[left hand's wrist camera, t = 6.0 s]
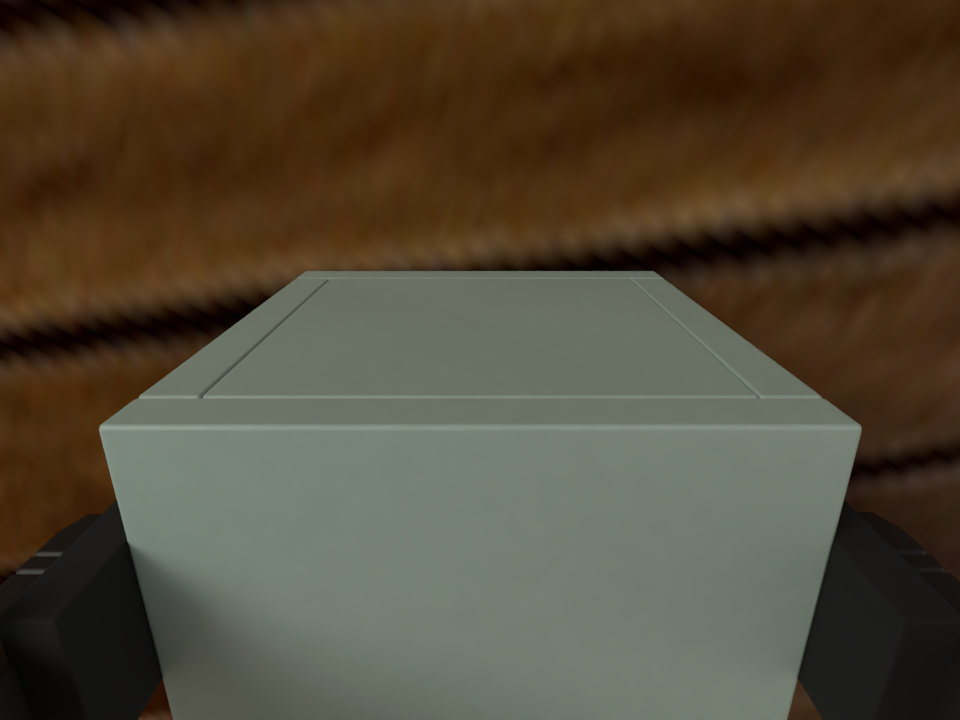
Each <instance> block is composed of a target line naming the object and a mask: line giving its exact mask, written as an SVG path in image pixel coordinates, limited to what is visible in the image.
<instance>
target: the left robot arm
mask: <svg viewBox="0 0 960 720" xmlns="http://www.w3.org/2000/svg"><path fill="white" fill-rule="evenodd" d="M162 678H163V677H162V673H161V669H160V666H159V662H158V658H157V654H156V650H155V646H154V642H153V638H152V634H151V630H150V627H149V623H148V619H147V615H146V611H145V607H144V603H143V599H142V595H141V592H140V588H139V584H138V580H137V576H136V572H135V568H134V564H133V560H132V556H131V553H130V549H129V545H128V541H127V537H126V533H125V529H124V525H123V521H122V517H121V514H120V510H119V506H118V502H117V500H116V501H115V502H114V503H113V504H112V505H111V506H110V507H109V508H108V509H107V510H106V511H105V512H104V513H103V514H88V515H87V516H85V517H83V518H81V519H80V520H78V521H76V522H75V523H73V524H71V525H69V526H68V527H66V528H64V529H63V530H61V531H59V532H58V533H57V534H56V535H55V536H53V537H52V538H51V539H50V540H49V541H48V542H47V543H46V544H45V545H44V546H43V547H42V548H40V549H39V550H38V551H37V552H36V556H35V557H31V558H30V559H29V560H27V561H26V562H25V563H24V564H23V565H22V566H21V567H20V568H19V569H18V570H17V573H16V575H11V576H10V577H9V578H8V579H7V580H6V581H5V582H4V583H3V584H2V585H0V720H138V718H139V717H140V715H141V713H142V712H143V710H144V708H145V706H146V705H147V703H148V701H149V700H150V698H151V696H152V695H153V693H154V691H155V690H156V688H157V686H158V685H159V683H160V681H161V679H162ZM798 678H799V680H800V682H801V684H802V685H803V687H804V689H805V690H806V692H807V694H808V695H809V697H810V699H811V700H812V702H813V704H814V705H815V707H816V709H817V711H818V712H819V714H820V716H821V717H822V719H823V720H960V582H959V581H958V580H957V579H956V578H955V577H954V576H952V575H951V574H950V573H946V572H945V568H944V567H943V566H942V565H940V564H939V563H938V562H937V561H936V560H935V559H934V558H933V557H932V556H931V555H926V551H925V550H924V549H923V548H922V547H921V546H920V545H919V544H918V543H917V542H915V541H914V540H913V539H912V538H911V537H910V536H909V535H908V534H907V533H906V532H905V531H903V530H902V529H900V528H899V527H897V526H895V525H893V524H892V523H890V522H888V521H886V520H885V519H883V518H881V517H880V516H878V515H876V514H874V513H873V512H856V511H855V510H854V509H853V508H852V507H851V506H850V505H849V504H848V503H847V502H846V501H845V500H844V501H843V505H842V509H841V513H840V517H839V521H838V525H837V529H836V532H835V536H834V540H833V544H832V548H831V552H830V556H829V560H828V563H827V567H826V571H825V575H824V579H823V583H822V587H821V591H820V594H819V598H818V602H817V606H816V610H815V614H814V618H813V622H812V625H811V629H810V633H809V637H808V641H807V645H806V649H805V653H804V656H803V660H802V664H801V668H800V672H799V676H798Z"/></svg>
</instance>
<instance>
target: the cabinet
mask: <svg viewBox="0 0 960 720" xmlns="http://www.w3.org/2000/svg"><path fill="white" fill-rule="evenodd" d="M99 432H100V436H101V440H102V443H103V447H104V451H105V455H106V459H107V463H108V467H109V471H110V475H111V479H112V482H113V486H114V490H115V494H116V498H117V502H118V506H119V510H120V514H121V517H122V521H123V525H124V529H125V533H126V537H127V541H128V545H129V549H130V553H131V556H132V560H133V564H134V568H135V572H136V576H137V580H138V584H139V588H140V592H141V595H142V599H143V603H144V607H145V611H146V615H147V619H148V623H149V627H150V630H151V634H152V638H153V642H154V646H155V650H156V654H157V658H158V662H159V666H160V669H161V673H162V677H163V681H164V685H165V689H166V693H167V697H168V701H169V705H170V708H171V712H172V716H173V720H787V718H788V715H789V711H790V707H791V703H792V699H793V695H794V691H795V687H796V684H797V680H798V676H799V672H800V668H801V664H802V660H803V656H804V653H805V649H806V645H807V641H808V637H809V633H810V629H811V625H812V622H813V618H814V614H815V610H816V606H817V602H818V598H819V594H820V591H821V587H822V583H823V579H824V575H825V571H826V567H827V563H828V560H829V556H830V552H831V548H832V544H833V540H834V536H835V532H836V529H837V525H838V521H839V517H840V513H841V509H842V505H843V501H844V498H845V494H846V490H847V486H848V482H849V478H850V474H851V470H852V467H853V463H854V459H855V455H856V451H857V447H858V443H859V439H860V436H861V432H862V429H861V426H860V425H859V424H858V423H857V422H855V421H854V420H853V419H851V418H850V417H849V416H847V415H846V414H845V413H843V412H842V411H841V410H839V409H838V408H837V407H835V406H834V405H833V404H831V403H830V402H829V401H827V400H825V399H822V397H821V396H820V395H819V394H818V393H816V392H815V391H814V390H812V389H811V388H810V387H808V386H807V385H806V384H804V383H803V382H802V381H800V380H799V379H798V378H796V377H795V376H794V375H792V374H791V373H790V372H788V371H787V370H786V369H784V368H783V367H782V366H780V365H779V364H777V363H776V362H775V361H773V360H772V359H771V358H769V357H768V356H767V355H765V354H764V353H763V352H761V351H760V350H759V349H757V348H756V347H755V346H753V345H752V344H751V343H749V342H748V341H747V340H745V339H744V338H743V337H741V336H740V335H739V334H737V333H736V332H735V331H733V330H732V329H731V328H729V327H728V326H726V325H725V324H724V323H722V322H721V321H720V320H718V319H717V318H716V317H714V316H713V315H712V314H710V313H709V312H708V311H706V310H705V309H704V308H702V307H701V306H700V305H698V304H697V303H696V302H694V301H693V300H692V299H690V298H689V297H688V296H686V295H685V294H684V293H682V292H681V291H680V290H678V289H677V288H675V287H674V286H673V285H671V284H670V283H669V282H667V281H666V280H665V279H663V278H662V277H661V276H660V275H658V274H657V273H656V272H654V271H306V272H304V273H303V274H302V275H300V276H299V277H298V278H297V279H295V280H294V281H293V282H291V283H290V284H289V285H287V286H286V287H285V288H283V289H282V290H281V291H279V292H278V293H277V294H275V295H274V296H273V297H271V298H270V299H268V300H267V301H266V302H264V303H263V304H262V305H260V306H259V307H258V308H256V309H255V310H254V311H252V312H251V313H250V314H248V315H247V316H246V317H244V318H243V319H242V320H240V321H239V322H238V323H236V324H235V325H234V326H232V327H231V328H230V329H228V330H227V331H226V332H224V333H223V334H222V335H220V336H219V337H218V338H216V339H215V340H214V341H212V342H211V343H210V344H208V345H207V346H206V347H204V348H203V349H202V350H200V351H199V352H198V353H196V354H195V355H194V356H192V357H191V358H190V359H188V360H187V361H186V362H184V363H183V364H182V365H180V366H179V367H178V368H176V369H175V370H174V371H172V372H171V373H170V374H168V375H167V376H166V377H164V378H163V379H162V380H160V381H159V382H158V383H156V384H155V385H154V386H152V387H151V388H150V389H148V390H147V391H145V392H144V393H143V394H141V395H140V396H139V399H136V400H134V401H132V402H131V403H130V404H128V405H127V406H126V407H124V408H123V409H122V410H120V411H119V412H118V413H116V414H115V415H113V416H112V417H111V418H109V419H108V420H107V421H105V422H104V423H103V424H101V426H100V429H99Z"/></svg>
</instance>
